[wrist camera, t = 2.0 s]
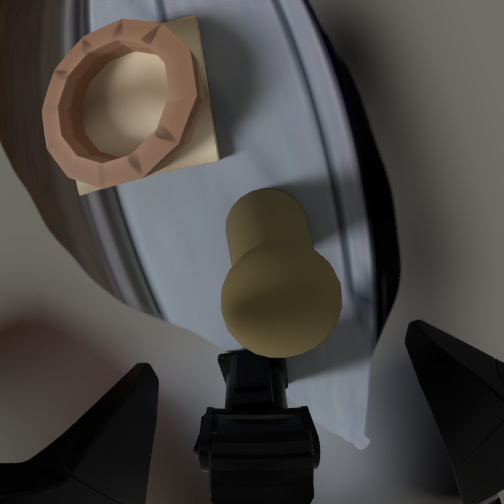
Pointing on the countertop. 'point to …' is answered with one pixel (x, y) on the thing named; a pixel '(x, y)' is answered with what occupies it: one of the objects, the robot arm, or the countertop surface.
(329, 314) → the cork
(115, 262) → the countertop surface
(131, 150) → the socket board
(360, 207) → the countertop surface
